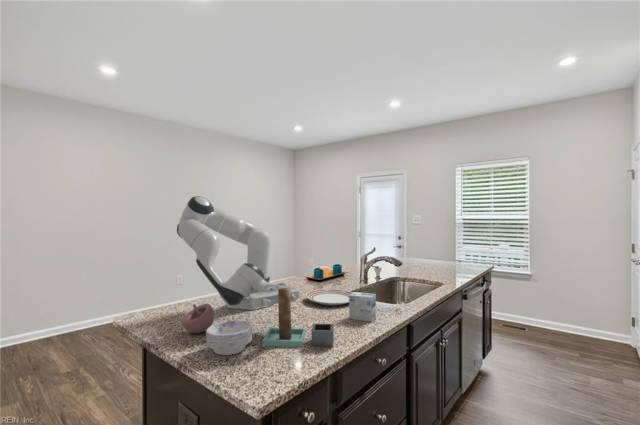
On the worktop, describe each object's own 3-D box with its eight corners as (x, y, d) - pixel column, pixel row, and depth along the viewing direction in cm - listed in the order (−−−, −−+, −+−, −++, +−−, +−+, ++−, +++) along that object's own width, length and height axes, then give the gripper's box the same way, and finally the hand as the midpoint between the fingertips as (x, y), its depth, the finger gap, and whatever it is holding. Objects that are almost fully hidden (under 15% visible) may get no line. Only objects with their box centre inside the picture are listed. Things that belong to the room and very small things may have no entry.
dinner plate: (357, 294, 180) (357, 289, 180) (357, 309, 153) (357, 302, 153) (310, 293, 184) (310, 287, 184) (301, 307, 156) (301, 301, 156)
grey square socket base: (311, 348, 109) (311, 331, 109) (313, 339, 117) (313, 323, 117) (333, 348, 109) (333, 331, 109) (333, 340, 116) (333, 323, 116)
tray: (262, 347, 110) (262, 340, 110) (270, 334, 122) (270, 327, 122) (302, 348, 109) (302, 341, 109) (306, 335, 121) (305, 328, 121)
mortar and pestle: (178, 331, 126) (178, 302, 126) (208, 324, 133) (208, 297, 133) (186, 341, 117) (186, 310, 117) (218, 333, 124) (218, 304, 124)
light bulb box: (376, 317, 140) (376, 293, 140) (372, 322, 134) (372, 297, 134) (353, 314, 145) (353, 291, 145) (348, 319, 139) (348, 294, 139)
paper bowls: (232, 337, 119) (232, 316, 119) (261, 347, 111) (261, 324, 111) (196, 352, 107) (196, 329, 107) (225, 364, 98) (225, 339, 98)
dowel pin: (277, 340, 114) (277, 290, 114) (280, 335, 118) (279, 287, 118) (290, 340, 113) (289, 290, 113) (292, 336, 118) (291, 287, 118)
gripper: (243, 290, 123) (257, 297, 112) (289, 282, 135) (306, 289, 123) (243, 306, 123) (257, 315, 112) (289, 297, 135) (306, 305, 123)
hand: (283, 301), depth 118 cm, fingers open, 8 cm apart
